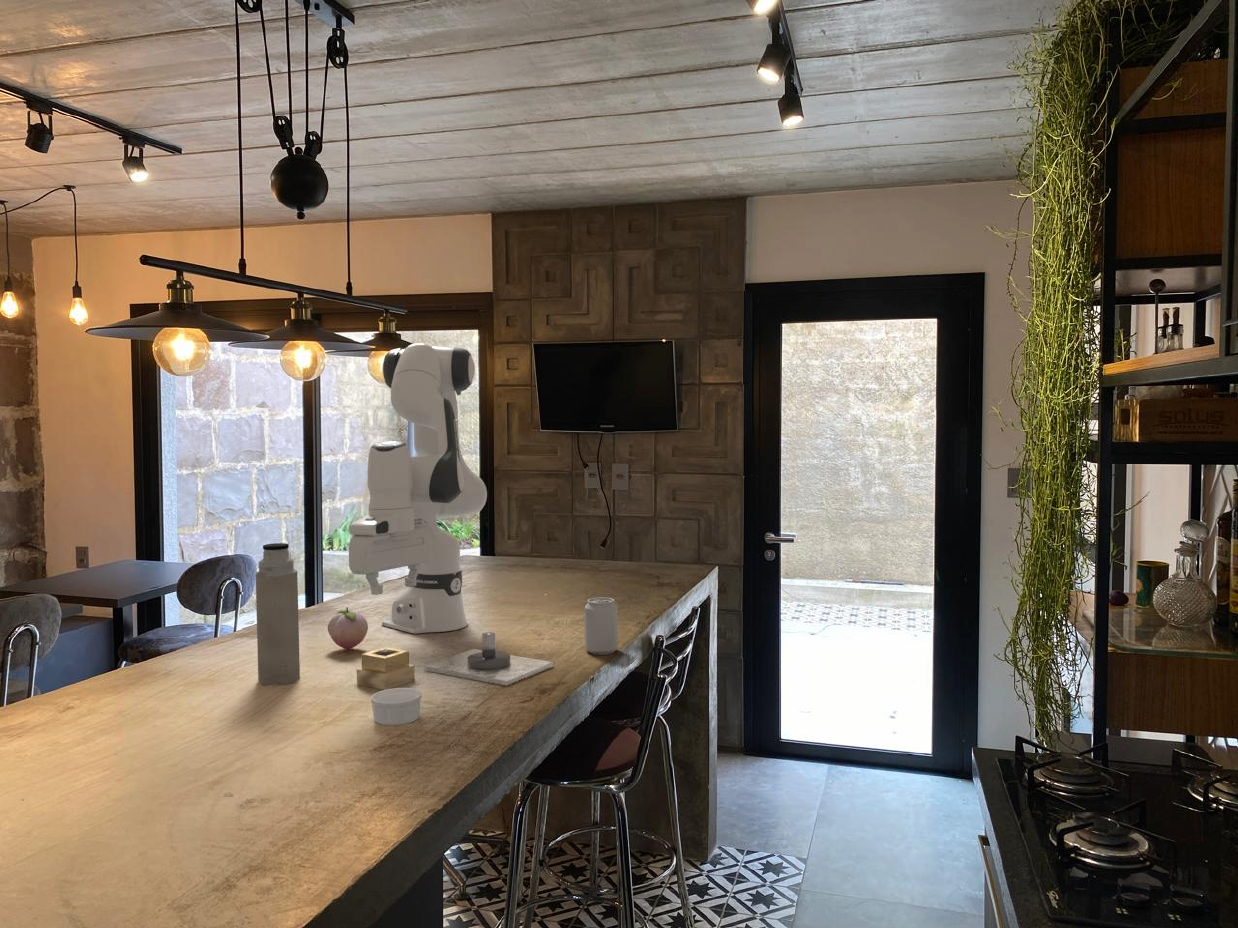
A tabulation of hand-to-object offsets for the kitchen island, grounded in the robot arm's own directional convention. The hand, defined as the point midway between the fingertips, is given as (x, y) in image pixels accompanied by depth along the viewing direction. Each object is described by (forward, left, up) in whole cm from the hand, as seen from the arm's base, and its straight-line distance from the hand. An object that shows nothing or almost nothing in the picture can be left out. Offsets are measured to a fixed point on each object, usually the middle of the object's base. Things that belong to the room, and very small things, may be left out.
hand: (394, 590), depth 182 cm
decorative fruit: (-28, +13, -19) cm, 36 cm away
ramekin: (+16, -16, -19) cm, 30 cm away
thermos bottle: (-22, -11, -19) cm, 31 cm away
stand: (-2, -1, -19) cm, 19 cm away
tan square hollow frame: (-2, -1, -16) cm, 16 cm away
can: (+24, +41, -19) cm, 51 cm away
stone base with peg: (+10, +17, -19) cm, 27 cm away
